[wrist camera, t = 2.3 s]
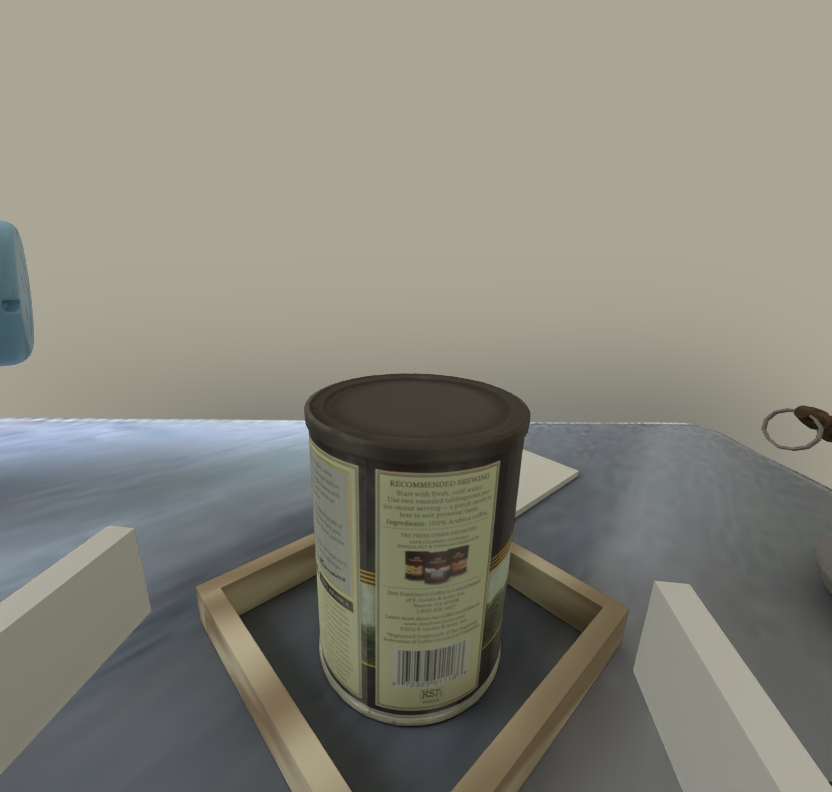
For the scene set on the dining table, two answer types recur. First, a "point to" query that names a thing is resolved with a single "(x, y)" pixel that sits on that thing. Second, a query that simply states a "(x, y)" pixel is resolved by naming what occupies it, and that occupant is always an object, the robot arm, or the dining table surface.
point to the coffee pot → (828, 551)
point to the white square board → (540, 480)
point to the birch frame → (508, 753)
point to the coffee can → (413, 538)
